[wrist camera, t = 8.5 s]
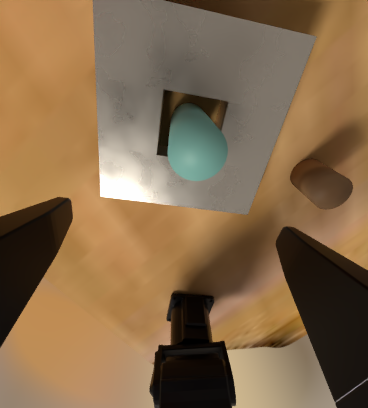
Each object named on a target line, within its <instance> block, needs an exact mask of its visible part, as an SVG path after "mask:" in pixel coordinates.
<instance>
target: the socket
mask: <svg viewBox="0 0 368 408" xmlns="http://www.w3.org/2000/svg"><path fill="white" fill-rule="evenodd" d="M93 19H94V44H95V69H96V94H97V119H98V144H99V169H100V194H101V197H109V198H117V199H125V200H133V201H141V202H149V203H157V204H165V205H174V206H182V207H190V208H198V209H206V210H214V211H222V212H230V213H238V214H246V215H248V212H249V210H250V207H251V205H252V202H253V200H254V197H255V194H256V192H257V189H258V187H259V184H260V182H261V179H262V176H263V174H264V171H265V169H266V166H267V164H268V161H269V158H270V156H271V153H272V151H273V148H274V145H275V143H276V140H277V138H278V135H279V133H280V130H281V127H282V125H283V122H284V120H285V117H286V115H287V112H288V109H289V107H290V104H291V102H292V99H293V96H294V94H295V91H296V89H297V86H298V84H299V81H300V78H301V76H302V73H303V71H304V68H305V66H306V63H307V60H308V58H309V55H310V53H311V50H312V48H313V45H314V42H315V40H316V37H317V36H312V35H308V34H304V33H300V32H295V31H291V30H287V29H283V28H279V27H274V26H270V25H266V24H262V23H257V22H253V21H249V20H245V19H241V18H236V17H232V16H228V15H224V14H219V13H215V12H211V11H207V10H203V9H198V8H194V7H190V6H186V5H181V4H177V3H173V2H169V1H165V0H93ZM165 90H170V91H175V92H180V93H186V94H191V95H196V96H202V97H207V98H212V99H218V100H221V101H220V105H219V110H218V114H217V118H216V123H215V125H216V126H217V127H218V128H219V130H220V131H221V132H222V133H223V135H224V137H225V139H226V141H227V146H228V155H227V159H226V162H225V164H224V166H223V167H222V169H221V170H220V171H219V172H218V173H217V174H215V175H214V176H213V177H211V178H209V179H206V180H202V181H191V180H187V179H184V178H182V177H181V176H179V175H178V174H177V173H176V172H175V171H174V170H173V169H172V167H171V165H170V163H169V160H168V146H162V145H159V140H160V131H161V121H162V112H163V103H164V93H165Z"/></svg>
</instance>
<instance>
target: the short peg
mask: <svg viewBox="0 0 368 408" xmlns="http://www.w3.org/2000/svg"><path fill="white" fill-rule="evenodd" d="M290 179H291V182H292V184H293V185H294V186H295V187H296V188H298V189H299V190H300V191H301V192H302V193H303V194H304V195H305V196H306V197H307V198H308V199H310V200H311V201H312V202H313V203H314V204H315V205H316V206H317V207H319V208H321V209H332V208H335V207H338V206H340V205H341V204H343V203H344V202H345V201H346V200H347V199H348V198H349V196H350V195H351V193H352V189H353V185H352V182H351V181H350V180H349V179H348V178H346V177H345V176H343V175H341V174H339V173H338V172H336V171H334V170H333V169H331V168H329V167H328V166H326V165H324V164H322V163H321V162H319V161H317V160H315V159H306V160H304V161H301V162H300V163H298V164H297V165H296V166H295V167H294V169H293V170H292V172H291V176H290Z"/></svg>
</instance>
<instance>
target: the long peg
mask: <svg viewBox="0 0 368 408" xmlns="http://www.w3.org/2000/svg"><path fill="white" fill-rule="evenodd" d="M227 155H228V146H227V141H226V139H225V137H224V135H223V133H222V132H221V131H220V130H219V128H218V127H217V126H216V125H215V124H214V123H213V121H212V120H211V119H210V118H209V117H208V116H207V114H206V113H205V112H204V111H203V110H202V109H201V108H200V107H199V106H198V105H196V104H193V103H185V104H182V105H180V106H179V107H177V108H176V109H175V111H174V112H173V114H172V117H171V124H170V133H169V142H168V160H169V163H170V165H171V167H172V169H173V170H174V171H175V172H176V173H177V174H178V175H179V176H181V177H182V178H184V179H187V180H191V181H202V180H206V179H209V178H211V177H213V176H214V175H215V174H217V173H218V172H219V171H220V170H221V169H222V167H223V166H224V164H225V162H226V159H227Z"/></svg>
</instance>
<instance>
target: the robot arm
mask: <svg viewBox="0 0 368 408" xmlns="http://www.w3.org/2000/svg"><path fill="white" fill-rule="evenodd" d="M72 219H73V214H72V204H71V200H70V199H69V198H63V197H57V198H54V199H51V200H48V201H45V202H42V203H39V204H36V205H33V206H30V207H27V208H25V209H22V210H19V211H16V212H13V213H10V214H7V215H4V216H1V217H0V347H1V346H2V344H3V342H4V341H5V339H6V337H7V336H8V334H9V332H10V331H11V329H12V328H13V326H14V324H15V323H16V321H17V319H18V318H19V316H20V314H21V313H22V311H23V309H24V308H25V306H26V305H27V303H28V301H29V300H30V298H31V296H32V294H33V293H34V291H35V290H36V288H37V286H38V285H39V283H40V281H41V280H42V278H43V277H44V275H45V273H46V272H47V270H48V268H49V267H50V265H51V263H52V262H53V260H54V258H55V257H56V255H57V253H58V251H59V249H60V247H61V245H62V242H63V240H64V238H65V236H66V233H67V231H68V229H69V227H70V225H71V222H72ZM276 248H277V251H278V255H279V258H280V262H281V266H282V269H283V272H284V276H285V278H286V281H287V284H288V286H289V289H290V291H291V294H292V296H293V299H294V301H295V304H296V306H297V309H298V311H299V314H300V316H301V319H302V321H303V324H304V326H305V329H306V331H307V334H308V336H309V339H310V341H311V344H312V346H313V349H314V351H315V354H316V356H317V359H318V361H319V364H320V366H321V369H322V371H323V374H324V376H325V379H326V381H327V384H328V386H329V389H330V391H331V394H332V396H333V399H334V401H335V402H336V407H337V408H368V270H366V269H364V268H363V267H361V266H359V265H357V264H356V263H354V262H352V261H351V260H349V259H347V258H345V257H344V256H342V255H340V254H339V253H337V252H335V251H334V250H332V249H330V248H328V247H327V246H325V245H323V244H322V243H320V242H318V241H316V240H315V239H313V238H311V237H310V236H308V235H306V234H304V233H303V232H301V231H299V230H298V229H296V228H294V227H287V226H286V227H284V228H283V229H282V230H281V232H280V234H279V236H278V238H277V240H276ZM213 303H214V297H211V296H198V295H185V294H172V295H171V299H170V304H169V308H168V313H167V321H171V345H159V347H158V351H157V352H155V363H154V370H153V374H152V379H151V384H150V394H151V395H152V396H153V401H154V407H155V408H232V406H235V405H236V395H235V387H234V380H233V375H232V371H231V366H230V362H229V358H228V354H227V350H226V346H225V342H224V341H220V342H213V341H212V334H211V327H210V320H209V313H210V311H211V308H212V306H213Z"/></svg>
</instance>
